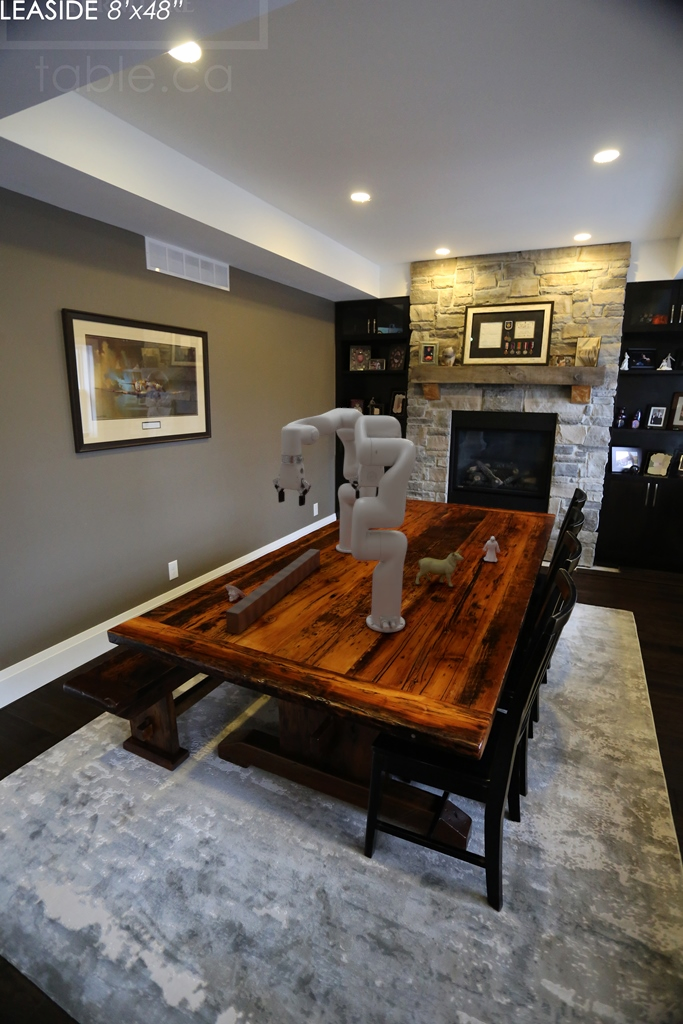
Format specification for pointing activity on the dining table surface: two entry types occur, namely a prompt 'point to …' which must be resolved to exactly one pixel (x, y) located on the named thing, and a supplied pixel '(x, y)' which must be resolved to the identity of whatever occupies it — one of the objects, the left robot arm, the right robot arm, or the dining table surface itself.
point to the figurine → (491, 550)
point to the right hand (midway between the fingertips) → (370, 500)
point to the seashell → (234, 592)
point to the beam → (270, 592)
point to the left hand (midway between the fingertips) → (291, 503)
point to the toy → (439, 567)
